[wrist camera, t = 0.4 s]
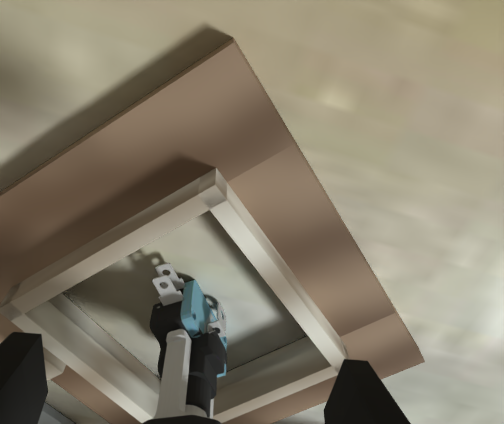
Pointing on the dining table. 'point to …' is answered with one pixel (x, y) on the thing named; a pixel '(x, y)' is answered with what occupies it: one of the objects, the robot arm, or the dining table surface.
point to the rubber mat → (52, 416)
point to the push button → (187, 351)
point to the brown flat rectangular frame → (173, 216)
